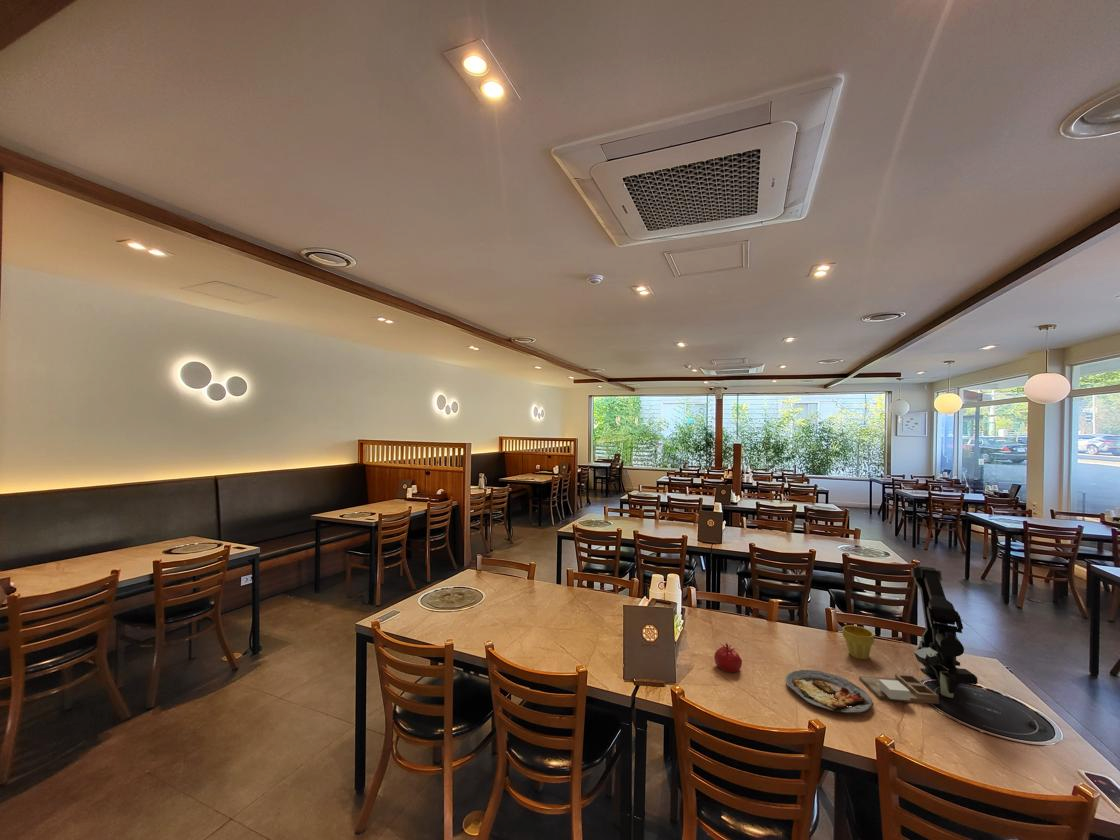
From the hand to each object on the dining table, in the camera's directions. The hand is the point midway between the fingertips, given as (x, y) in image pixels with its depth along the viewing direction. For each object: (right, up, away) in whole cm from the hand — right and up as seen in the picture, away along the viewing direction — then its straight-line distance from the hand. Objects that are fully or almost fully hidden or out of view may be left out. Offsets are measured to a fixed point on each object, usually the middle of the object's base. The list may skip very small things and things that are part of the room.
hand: (946, 690), depth 141 cm
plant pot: (-10, -4, +28) cm, 30 cm away
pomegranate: (-67, -4, +19) cm, 70 cm away
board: (-14, -3, +4) cm, 15 cm away
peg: (0, -2, 0) cm, 2 cm away
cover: (-19, -1, -1) cm, 19 cm away
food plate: (-40, -3, +2) cm, 40 cm away
